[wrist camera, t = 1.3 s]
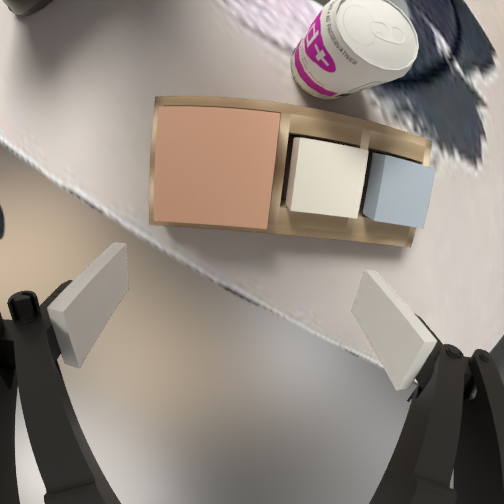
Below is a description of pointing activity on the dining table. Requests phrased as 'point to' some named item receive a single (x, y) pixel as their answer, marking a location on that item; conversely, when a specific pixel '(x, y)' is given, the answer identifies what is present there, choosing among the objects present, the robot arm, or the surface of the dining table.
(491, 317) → the dining table surface
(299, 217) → the wooden compartment tray
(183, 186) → the key terracotta
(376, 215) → the key slate
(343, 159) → the key ivory
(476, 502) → the robot arm
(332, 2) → the supplement can
